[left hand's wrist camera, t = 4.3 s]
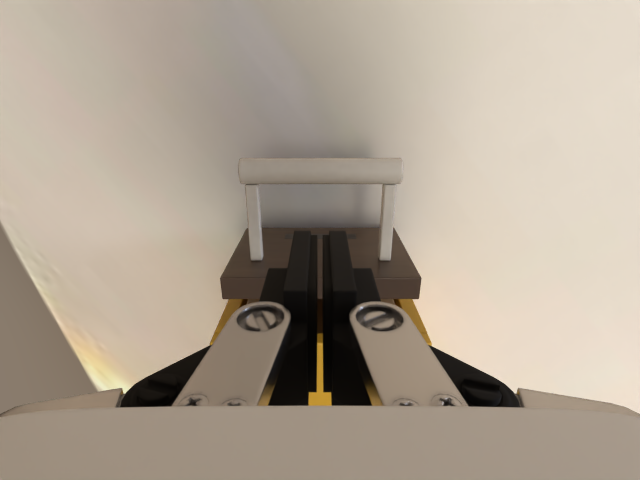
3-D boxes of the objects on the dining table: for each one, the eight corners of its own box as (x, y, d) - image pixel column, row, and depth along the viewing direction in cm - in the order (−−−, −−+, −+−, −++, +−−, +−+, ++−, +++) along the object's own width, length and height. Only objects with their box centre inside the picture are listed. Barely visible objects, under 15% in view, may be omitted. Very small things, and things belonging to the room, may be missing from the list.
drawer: (240, 144, 22) (207, 167, 16) (400, 144, 22) (434, 166, 16) (262, 421, 31) (246, 510, 24) (378, 420, 31) (394, 510, 24)
